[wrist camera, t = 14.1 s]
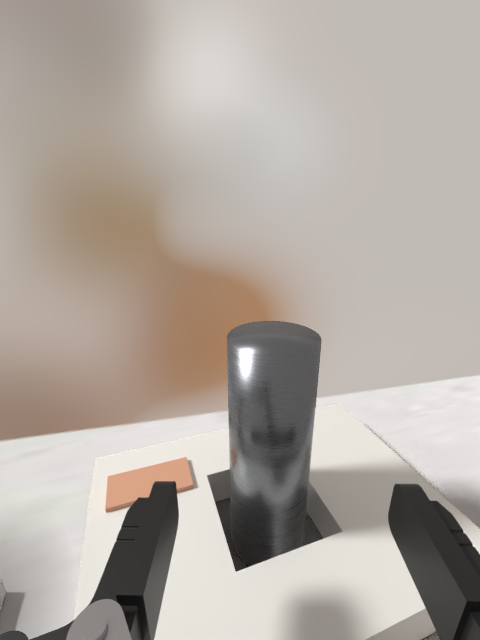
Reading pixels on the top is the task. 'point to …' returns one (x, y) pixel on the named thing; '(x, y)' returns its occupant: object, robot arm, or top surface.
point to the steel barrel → (270, 435)
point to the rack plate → (281, 571)
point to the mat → (2, 593)
